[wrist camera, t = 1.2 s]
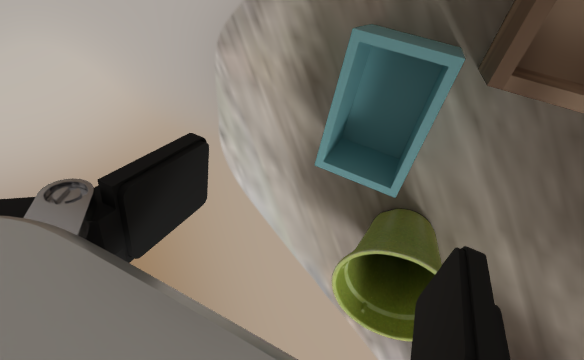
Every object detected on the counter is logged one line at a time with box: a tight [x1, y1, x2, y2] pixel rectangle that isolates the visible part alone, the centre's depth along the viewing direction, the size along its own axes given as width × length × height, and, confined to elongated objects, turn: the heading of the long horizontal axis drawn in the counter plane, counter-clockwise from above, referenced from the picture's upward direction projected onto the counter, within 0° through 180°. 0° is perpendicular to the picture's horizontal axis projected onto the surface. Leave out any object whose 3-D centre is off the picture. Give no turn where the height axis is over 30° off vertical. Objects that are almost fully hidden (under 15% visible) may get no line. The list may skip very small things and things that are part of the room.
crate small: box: [315, 24, 465, 198], centre depth 22 cm, size 7×10×6 cm, turn 168°
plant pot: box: [332, 209, 442, 341], centre depth 27 cm, size 9×9×9 cm
